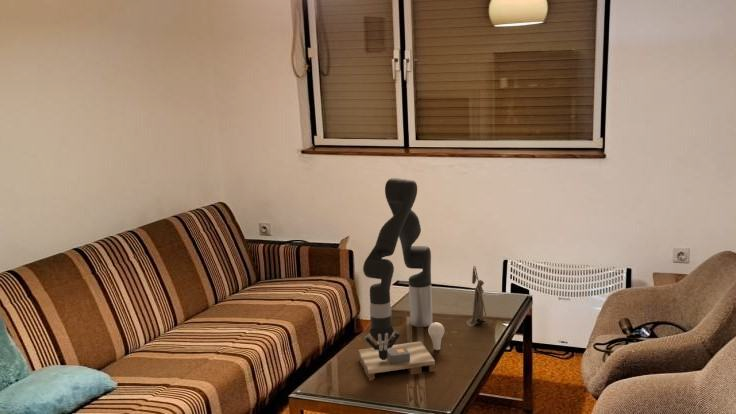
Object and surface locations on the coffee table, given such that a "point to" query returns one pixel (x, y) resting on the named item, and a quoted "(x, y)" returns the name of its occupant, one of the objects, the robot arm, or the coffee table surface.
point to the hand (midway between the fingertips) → (383, 359)
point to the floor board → (417, 359)
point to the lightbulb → (436, 334)
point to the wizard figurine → (477, 301)
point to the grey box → (398, 355)
